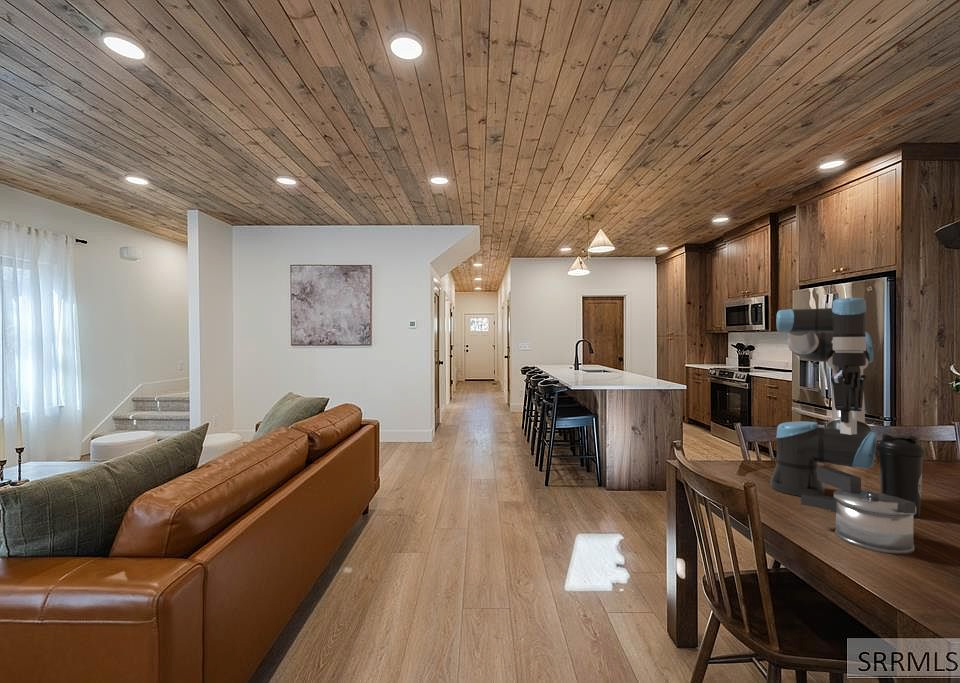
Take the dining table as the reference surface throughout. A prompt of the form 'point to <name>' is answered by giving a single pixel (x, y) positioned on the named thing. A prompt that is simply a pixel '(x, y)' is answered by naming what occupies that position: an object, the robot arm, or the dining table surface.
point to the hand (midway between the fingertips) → (848, 433)
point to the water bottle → (901, 468)
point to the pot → (867, 526)
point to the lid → (863, 494)
